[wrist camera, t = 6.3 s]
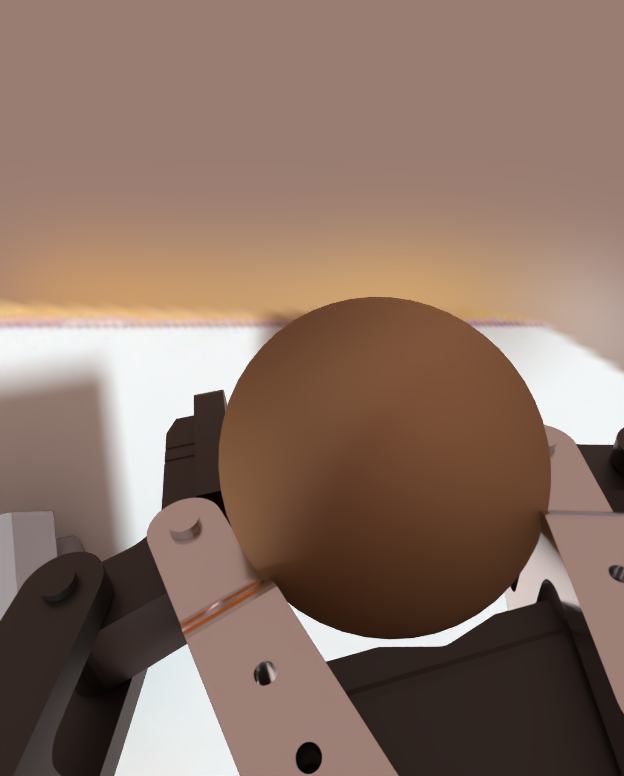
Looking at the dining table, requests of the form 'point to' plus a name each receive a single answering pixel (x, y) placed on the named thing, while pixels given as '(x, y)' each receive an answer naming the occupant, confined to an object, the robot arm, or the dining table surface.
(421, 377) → the roller
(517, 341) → the dining table surface
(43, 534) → the grey roller platform
